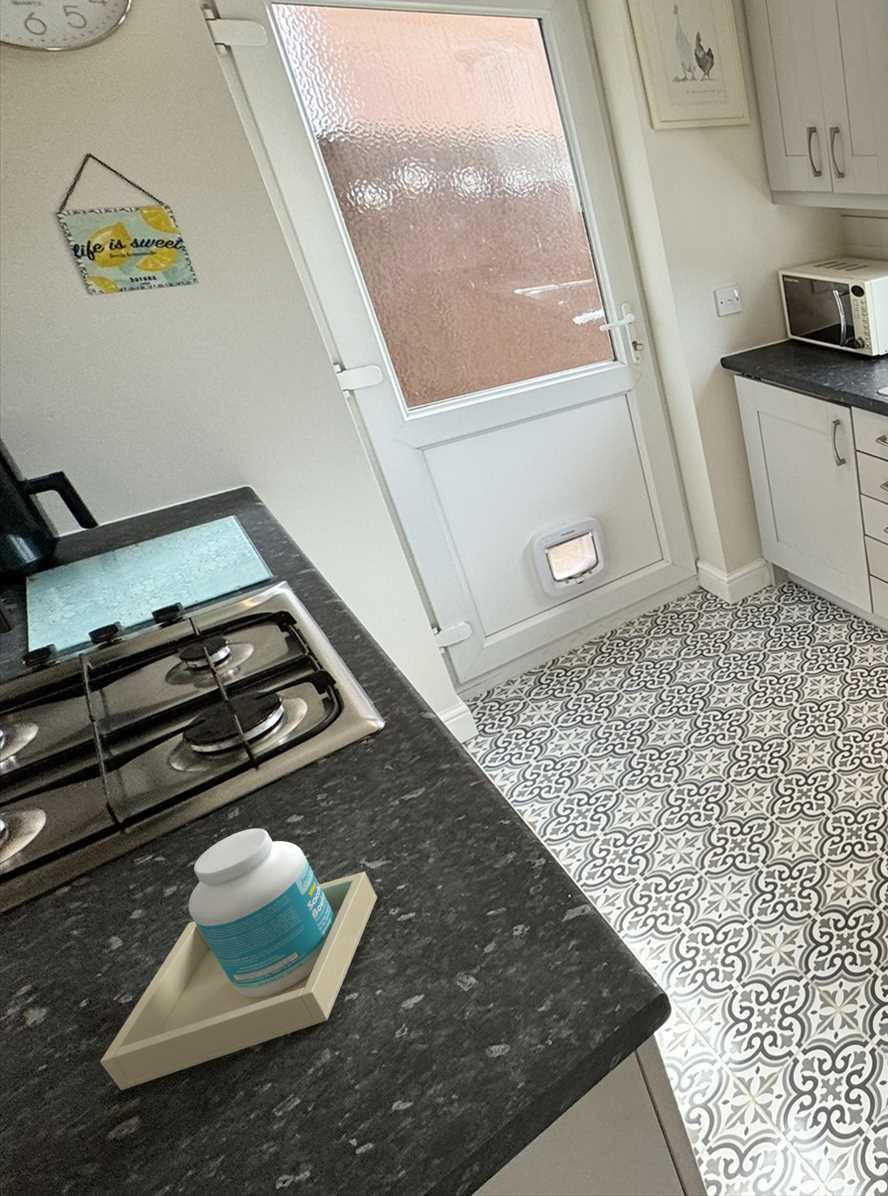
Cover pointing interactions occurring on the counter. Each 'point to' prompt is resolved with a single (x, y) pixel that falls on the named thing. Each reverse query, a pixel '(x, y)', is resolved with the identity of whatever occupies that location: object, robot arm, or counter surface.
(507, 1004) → the counter surface
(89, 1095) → the counter surface
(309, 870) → the pill bottle
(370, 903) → the tray
